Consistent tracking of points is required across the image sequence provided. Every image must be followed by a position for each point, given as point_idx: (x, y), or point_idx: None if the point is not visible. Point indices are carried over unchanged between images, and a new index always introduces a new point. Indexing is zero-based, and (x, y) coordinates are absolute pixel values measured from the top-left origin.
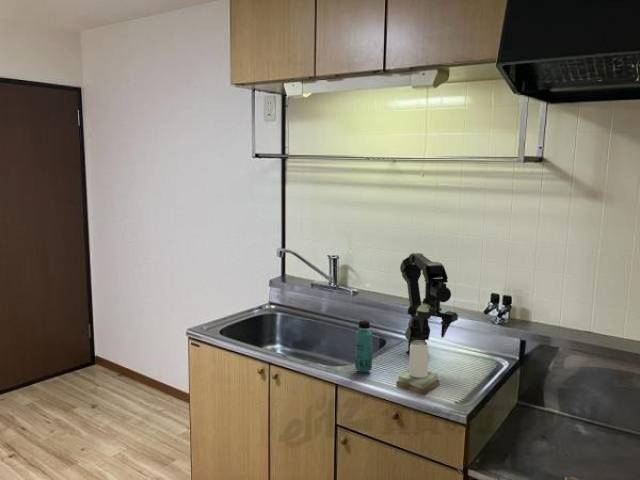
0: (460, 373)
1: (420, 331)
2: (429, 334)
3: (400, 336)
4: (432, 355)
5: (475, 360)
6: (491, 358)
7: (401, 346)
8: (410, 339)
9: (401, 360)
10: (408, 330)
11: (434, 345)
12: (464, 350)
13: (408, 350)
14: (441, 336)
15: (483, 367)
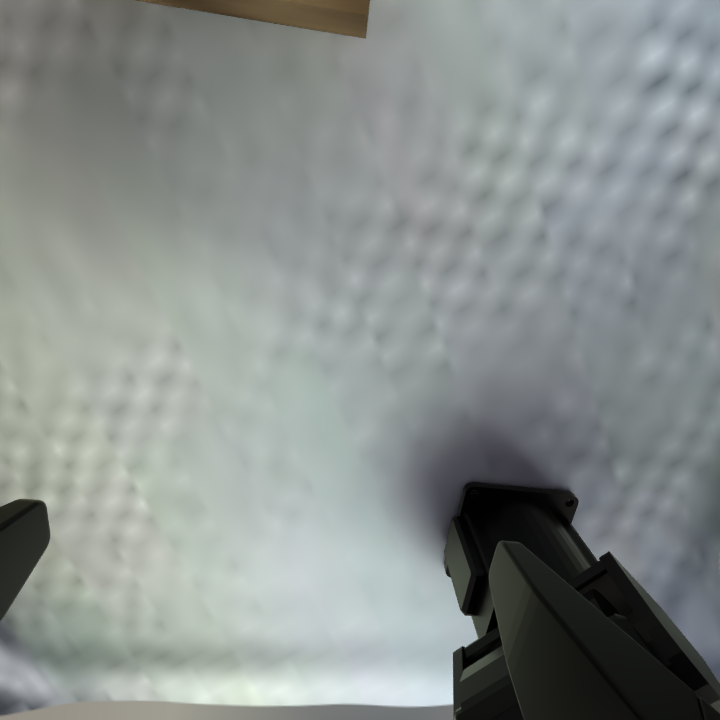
0: (83, 354)
1: (516, 556)
2: (455, 708)
3: None
4: (395, 547)
5: (126, 603)
6: (68, 670)
7: None
8: (606, 567)
9: (568, 355)
10: (701, 666)
11: (442, 684)
12: (256, 698)
13: (569, 523)
14: (21, 511)
15: None
